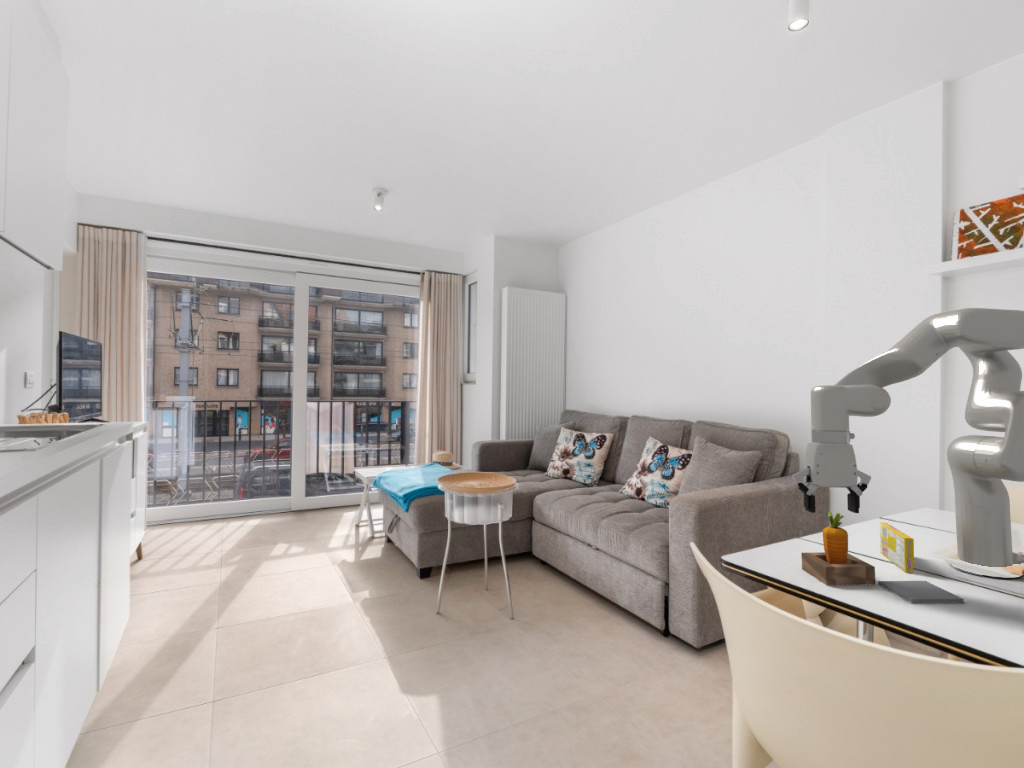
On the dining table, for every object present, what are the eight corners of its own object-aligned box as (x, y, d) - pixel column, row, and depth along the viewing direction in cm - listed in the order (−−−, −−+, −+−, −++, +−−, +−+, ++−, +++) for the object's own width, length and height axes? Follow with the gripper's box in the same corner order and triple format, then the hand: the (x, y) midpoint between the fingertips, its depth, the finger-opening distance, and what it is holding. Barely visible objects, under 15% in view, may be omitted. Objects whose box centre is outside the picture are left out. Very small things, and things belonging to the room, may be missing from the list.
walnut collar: (846, 569, 121) (846, 552, 121) (875, 585, 111) (874, 566, 111) (802, 569, 122) (801, 552, 122) (826, 585, 111) (825, 567, 111)
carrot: (824, 571, 120) (821, 508, 120) (849, 575, 117) (846, 510, 118) (824, 578, 115) (821, 512, 116) (850, 582, 113) (847, 515, 113)
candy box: (916, 574, 117) (914, 538, 117) (905, 573, 118) (903, 537, 118) (889, 553, 132) (887, 521, 133) (879, 552, 133) (877, 521, 133)
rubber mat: (925, 584, 110) (925, 580, 110) (963, 602, 100) (963, 598, 100) (878, 584, 111) (878, 581, 111) (911, 603, 101) (911, 599, 101)
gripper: (858, 437, 121) (860, 508, 120) (784, 436, 122) (785, 507, 121) (879, 439, 113) (881, 516, 112) (800, 439, 114) (801, 515, 114)
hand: (831, 511), depth 117 cm, fingers open, 9 cm apart
